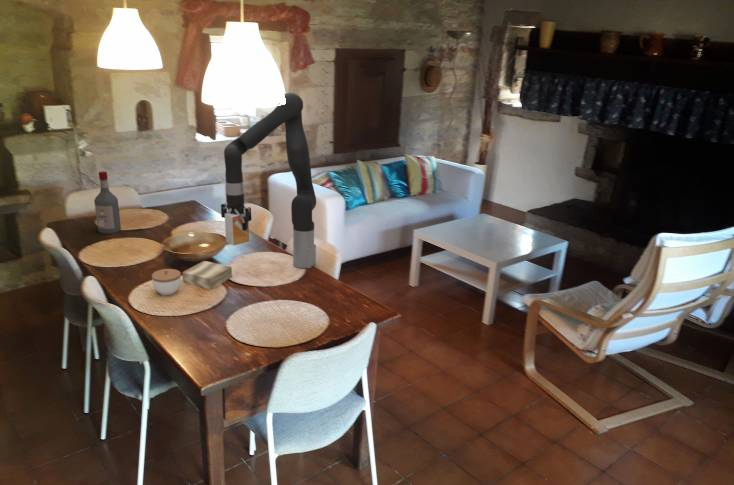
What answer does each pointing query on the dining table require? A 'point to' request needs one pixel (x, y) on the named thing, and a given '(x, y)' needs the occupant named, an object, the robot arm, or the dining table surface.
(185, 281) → the birch plinth
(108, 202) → the liquor
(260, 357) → the dining table surface
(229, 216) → the small box
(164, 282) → the lidded jar
